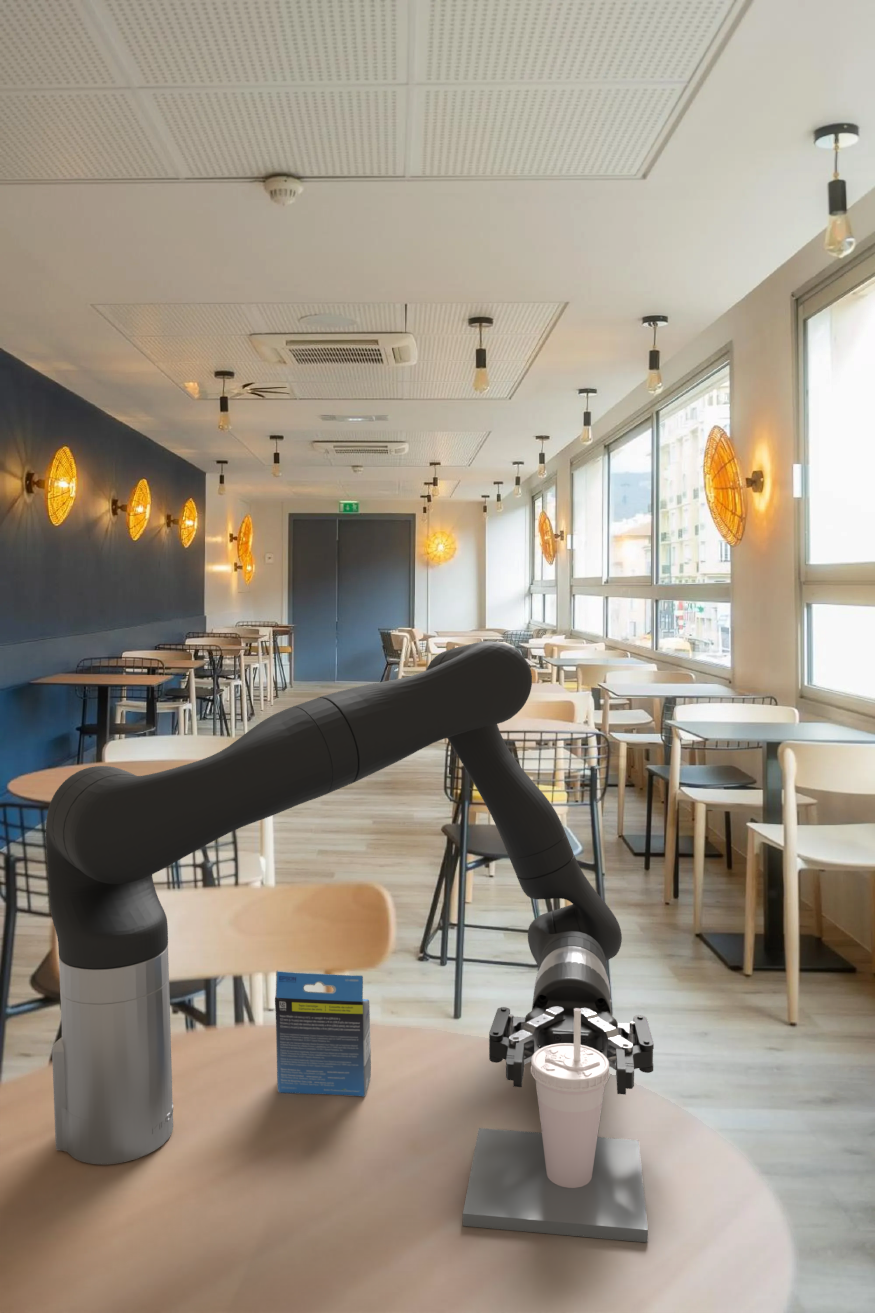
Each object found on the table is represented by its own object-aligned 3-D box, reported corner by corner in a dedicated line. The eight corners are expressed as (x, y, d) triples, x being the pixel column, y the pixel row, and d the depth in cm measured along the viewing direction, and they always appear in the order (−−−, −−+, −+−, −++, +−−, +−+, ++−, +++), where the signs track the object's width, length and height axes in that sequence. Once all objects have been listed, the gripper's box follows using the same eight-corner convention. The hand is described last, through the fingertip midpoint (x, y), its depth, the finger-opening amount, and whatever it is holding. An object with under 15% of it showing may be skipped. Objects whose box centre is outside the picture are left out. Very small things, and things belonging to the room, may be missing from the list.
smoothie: (607, 1203, 77) (609, 1030, 76) (525, 1193, 78) (526, 1023, 77) (609, 1156, 83) (611, 996, 82) (534, 1148, 85) (534, 990, 84)
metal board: (462, 1226, 76) (462, 1213, 76) (478, 1138, 88) (478, 1128, 88) (647, 1242, 74) (647, 1230, 74) (638, 1151, 86) (638, 1140, 86)
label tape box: (372, 1079, 99) (371, 959, 98) (365, 1100, 95) (363, 976, 94) (286, 1074, 100) (284, 956, 99) (275, 1095, 96) (273, 972, 95)
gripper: (499, 956, 98) (483, 1031, 82) (646, 964, 96) (658, 1041, 80) (500, 1029, 98) (483, 1117, 83) (645, 1038, 96) (657, 1130, 80)
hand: (569, 1080), depth 81 cm, fingers open, 8 cm apart
